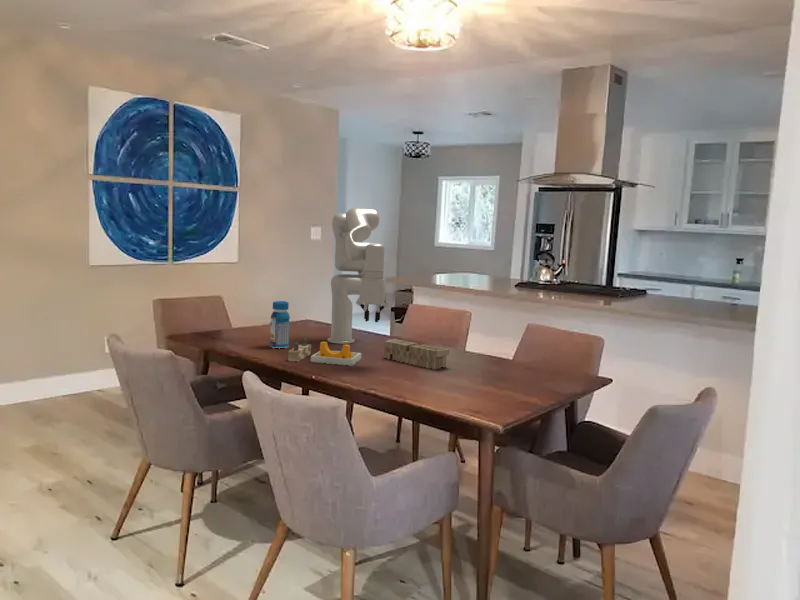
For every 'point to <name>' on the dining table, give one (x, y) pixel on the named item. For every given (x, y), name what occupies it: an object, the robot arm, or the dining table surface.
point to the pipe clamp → (343, 354)
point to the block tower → (416, 353)
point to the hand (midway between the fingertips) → (371, 321)
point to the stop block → (299, 351)
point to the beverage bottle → (280, 325)
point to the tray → (336, 359)
